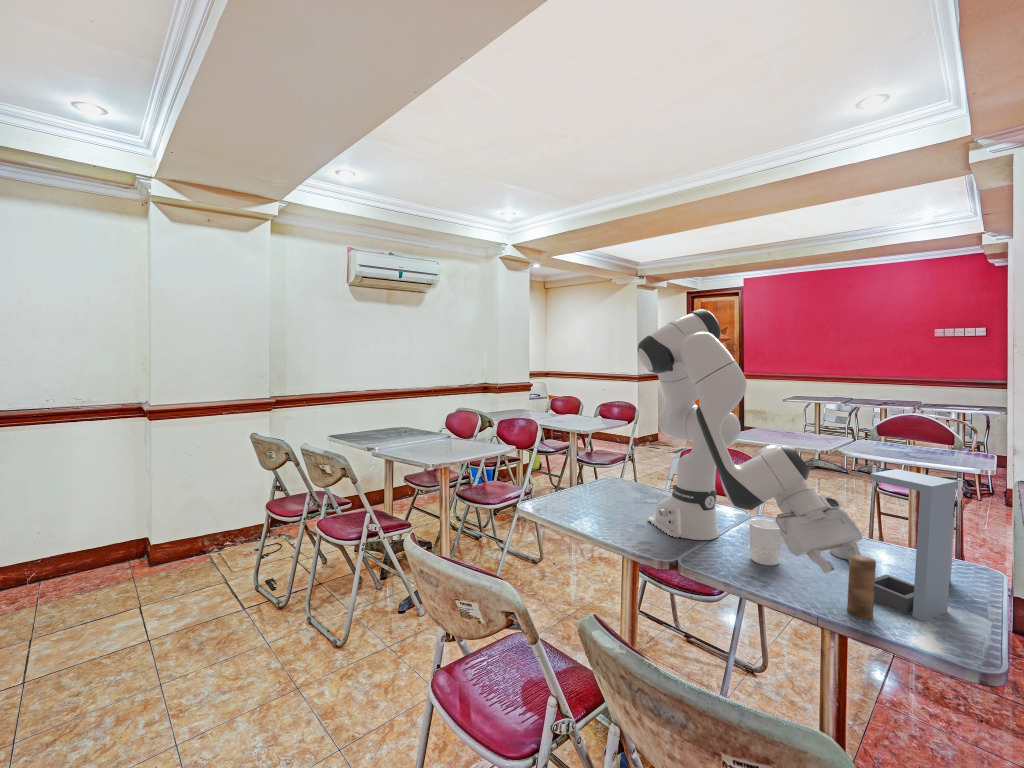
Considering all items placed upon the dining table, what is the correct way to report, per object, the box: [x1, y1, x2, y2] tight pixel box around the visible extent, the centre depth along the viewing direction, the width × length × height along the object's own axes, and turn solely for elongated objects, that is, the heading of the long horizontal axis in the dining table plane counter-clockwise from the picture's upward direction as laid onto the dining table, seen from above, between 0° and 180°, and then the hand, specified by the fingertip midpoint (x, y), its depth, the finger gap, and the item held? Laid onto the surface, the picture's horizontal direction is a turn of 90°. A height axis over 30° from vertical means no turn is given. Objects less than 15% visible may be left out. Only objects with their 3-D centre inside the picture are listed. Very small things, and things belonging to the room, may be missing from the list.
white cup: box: [748, 518, 783, 566], centre depth 130 cm, size 8×8×10 cm
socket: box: [874, 573, 915, 615], centre depth 109 cm, size 8×8×4 cm
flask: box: [829, 519, 861, 560], centre depth 133 cm, size 7×7×10 cm
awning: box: [870, 468, 959, 622], centre depth 107 cm, size 12×10×28 cm
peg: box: [846, 554, 877, 620], centre depth 103 cm, size 4×4×12 cm
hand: (844, 568), depth 105 cm, fingers open, 8 cm apart
